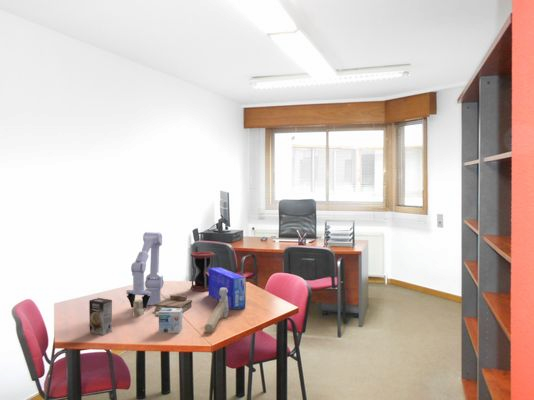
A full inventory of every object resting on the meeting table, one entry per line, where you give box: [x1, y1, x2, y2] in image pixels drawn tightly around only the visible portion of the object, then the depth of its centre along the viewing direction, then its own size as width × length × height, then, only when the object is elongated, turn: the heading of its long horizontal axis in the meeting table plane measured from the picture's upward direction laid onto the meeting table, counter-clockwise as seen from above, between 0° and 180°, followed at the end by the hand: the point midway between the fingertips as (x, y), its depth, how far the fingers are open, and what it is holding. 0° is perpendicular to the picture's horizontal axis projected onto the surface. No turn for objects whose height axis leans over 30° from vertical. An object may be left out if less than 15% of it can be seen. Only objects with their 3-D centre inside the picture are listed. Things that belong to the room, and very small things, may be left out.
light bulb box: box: [158, 308, 183, 334], centre depth 220 cm, size 11×7×11 cm, turn 90°
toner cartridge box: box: [208, 266, 247, 310], centre depth 275 cm, size 39×8×18 cm, turn 29°
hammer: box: [204, 287, 230, 334], centre depth 232 cm, size 16×5×30 cm
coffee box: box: [88, 297, 113, 336], centre depth 218 cm, size 9×6×16 cm
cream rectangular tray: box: [154, 301, 193, 317], centre depth 254 cm, size 16×21×3 cm
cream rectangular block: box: [133, 299, 145, 317], centre depth 246 cm, size 4×4×8 cm
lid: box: [154, 294, 193, 308], centre depth 257 cm, size 17×14×4 cm
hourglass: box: [190, 251, 215, 292], centre depth 306 cm, size 16×16×25 cm
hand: (138, 307), depth 246 cm, fingers open, 7 cm apart
